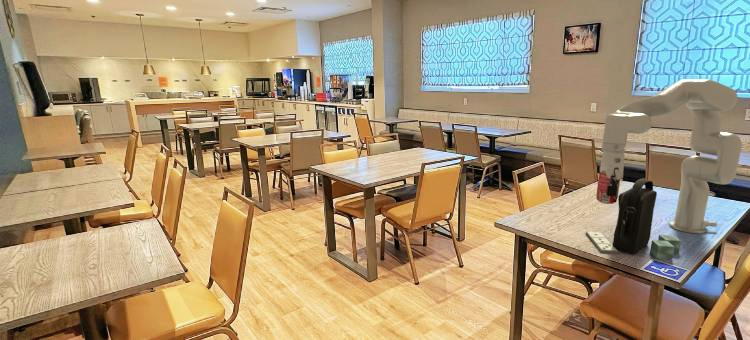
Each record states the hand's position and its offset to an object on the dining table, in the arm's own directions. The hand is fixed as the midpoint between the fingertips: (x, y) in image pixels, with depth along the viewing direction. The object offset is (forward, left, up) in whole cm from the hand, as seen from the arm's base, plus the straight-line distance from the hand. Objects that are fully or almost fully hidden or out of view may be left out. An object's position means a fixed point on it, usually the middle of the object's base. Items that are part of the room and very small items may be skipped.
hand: (607, 192), depth 146 cm
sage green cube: (-18, +8, -21) cm, 29 cm away
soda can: (0, 0, -4) cm, 4 cm away
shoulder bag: (-10, +2, -22) cm, 24 cm away
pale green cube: (-23, +2, -21) cm, 31 cm away
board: (0, 0, -21) cm, 21 cm away
